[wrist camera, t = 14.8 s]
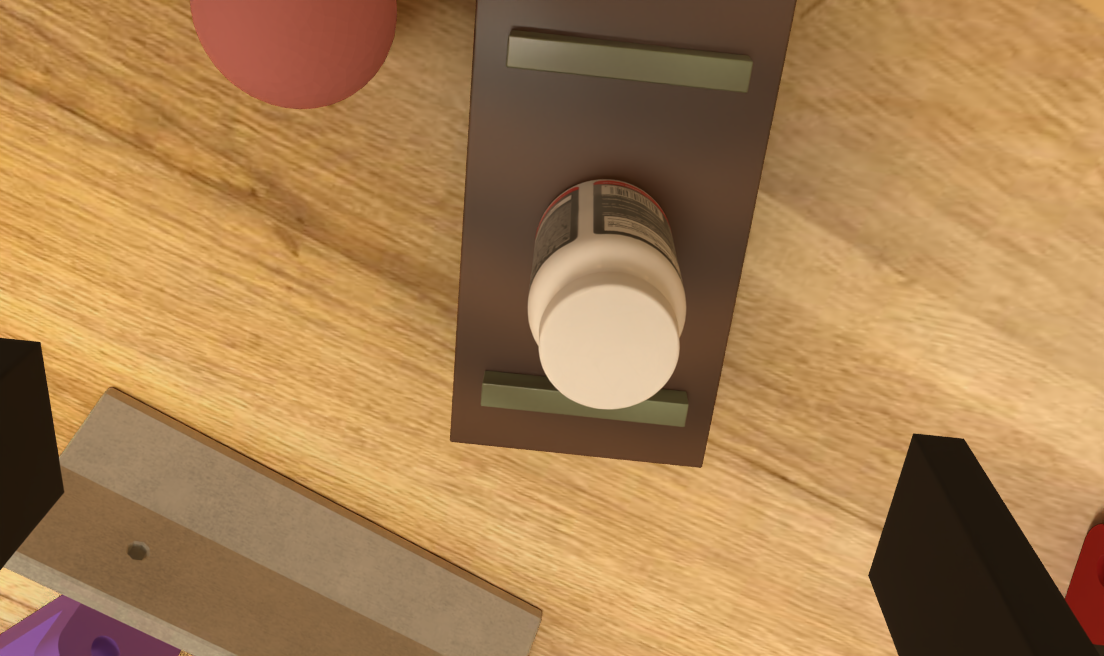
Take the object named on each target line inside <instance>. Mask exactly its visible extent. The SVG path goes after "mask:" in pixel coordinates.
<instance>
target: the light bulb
mask: <svg viewBox="0 0 1104 656" xmlns="http://www.w3.org/2000/svg"><path fill="white" fill-rule="evenodd" d="M190 5H191V13H192V18H193V23H194V26H195V29H196V32H197V35H198V37H199V40H200V42H201V44H202V46H203V48H204V50H205V52H206V53H207V55H208V56H209V58H210V59H211V61H212V62H213V63H214V65H215V66H216V67H217V68H218V70H219V71H220V72H221V73H222V74H223V75H224V76H225V77H226V78H227V79H228V80H229V81H230V82H231V83H233V84H234V85H235V86H237V87H238V88H240V89H241V90H242V91H244V92H246V93H247V94H249V95H250V96H252V97H255V98H257V99H259V100H262V101H264V102H266V103H269V104H272V105H276V106H280V107H284V108H294V109H310V108H318V107H323V106H327V105H331V104H334V103H336V102H339V101H341V100H344V99H346V98H348V97H349V96H351V95H353V94H354V93H356V92H357V91H358V90H360V89H361V88H363V87H364V86H365V85H366V84H367V83H368V82H369V81H370V80H371V79H372V78H373V77H374V76H375V74H376V73H377V72H378V70H379V69H380V67H381V66H382V64H383V63H384V61H385V59H386V57H387V55H388V52H389V50H390V48H391V45H392V42H393V38H394V34H395V28H396V21H397V3H396V0H190Z"/></svg>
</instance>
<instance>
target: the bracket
mask: <svg viewBox="0 0 1104 656" xmlns="http://www.w3.org/2000/svg"><path fill="white" fill-rule="evenodd" d="M180 651H181V649H179V648H176V647H174V646H172V645H170V644H168V643H166V642H163V641H161V640H159V639H157V638H155V637H153V636H151V635H148V634H146V633H144V632H142V631H140V630H138V629H136V628H133V627H131V626H129V625H127V624H125V623H123V622H121V621H118V620H116V619H114V618H112V617H110V616H108V615H105V614H103V613H101V612H99V611H97V610H95V609H93V608H90V607H88V606H86V605H84V604H82V603H80V602H78V601H75V600H73V599H71V598H69V597H67V596H65V595H61V596H60V597H58V598H56V599H55V600H53V601H52V602H50V603H49V604H47V605H46V606H44V607H42V608H41V609H39V610H38V611H36V612H35V613H33V614H31V615H30V616H28V617H27V618H25V619H24V620H22V621H21V622H19V623H17V624H16V625H14V626H13V627H11V628H10V629H8V630H6V631H5V632H3V633H2V634H0V656H178V655H179V653H180Z"/></svg>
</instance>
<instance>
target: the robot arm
mask: <svg viewBox="0 0 1104 656" xmlns="http://www.w3.org/2000/svg"><path fill="white" fill-rule="evenodd" d="M63 494H64V486H63V480H62V474H61V468H60V461H59V455H58V449H57V443H56V436H55V430H54V424H53V418H52V411H51V405H50V399H49V393H48V386H47V380H46V374H45V368H44V362H43V355H42V349H41V343H40V342H34V341H25V340H15V339H6V338H0V570H1V569H2V568H3V566H4V565H5V564H6V563H7V561H8V560H9V559H10V558H11V557H12V555H13V554H14V553H15V552H16V551H17V549H18V548H19V547H20V546H21V544H22V543H23V542H24V541H25V540H26V538H27V537H28V536H29V535H30V534H31V532H32V531H33V530H34V529H35V528H36V526H37V525H38V524H39V523H40V521H41V520H42V519H43V518H44V517H45V515H46V514H47V513H48V512H49V511H50V509H51V508H52V507H53V506H54V504H55V503H56V502H57V501H58V500H59V498H60V497H61V496H62V495H63ZM868 576H869V578H870V581H871V584H872V586H873V589H874V592H875V594H876V597H877V600H878V602H879V605H880V607H881V610H882V613H883V615H884V618H885V621H886V623H887V626H888V629H889V631H890V634H891V637H892V639H893V642H894V645H895V647H896V650H897V652H898V655H899V656H1104V645H1096V644H1092V642H1091V640H1090V639H1089V637H1088V636H1087V634H1086V632H1085V631H1084V629H1083V628H1082V626H1081V624H1080V623H1079V621H1078V620H1077V618H1076V616H1075V615H1074V613H1073V612H1072V610H1071V608H1070V607H1069V605H1068V604H1067V602H1066V601H1065V599H1064V597H1063V596H1062V594H1061V593H1060V591H1059V589H1058V588H1057V586H1056V585H1055V583H1054V581H1053V580H1052V578H1051V577H1050V575H1049V573H1048V572H1047V570H1046V569H1045V567H1044V565H1043V564H1042V562H1041V561H1040V559H1039V558H1038V556H1037V554H1036V553H1035V551H1034V550H1033V548H1032V546H1031V545H1030V543H1029V542H1028V540H1027V538H1026V537H1025V535H1024V534H1023V532H1022V530H1021V529H1020V527H1019V526H1018V524H1017V523H1016V521H1015V519H1014V518H1013V516H1012V515H1011V513H1010V511H1009V510H1008V508H1007V507H1006V505H1005V503H1004V502H1003V500H1002V499H1001V497H1000V495H999V494H998V492H997V491H996V489H995V487H994V486H993V484H992V483H991V481H990V480H989V478H988V476H987V475H986V473H985V472H984V470H983V468H982V467H981V465H980V464H979V462H978V460H977V459H976V457H975V456H974V454H973V452H972V451H971V449H970V448H969V446H968V445H967V443H966V441H965V440H964V439H961V438H952V437H942V436H933V435H923V434H913V436H912V439H911V443H910V446H909V449H908V452H907V455H906V458H905V462H904V465H903V468H902V471H901V474H900V477H899V480H898V484H897V487H896V490H895V493H894V496H893V499H892V503H891V506H890V509H889V512H888V515H887V518H886V522H885V525H884V528H883V531H882V534H881V537H880V540H879V544H878V547H877V550H876V553H875V556H874V559H873V563H872V566H871V569H870V572H869V575H868Z"/></svg>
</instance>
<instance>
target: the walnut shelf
mask: <svg viewBox="0 0 1104 656" xmlns="http://www.w3.org/2000/svg"><path fill="white" fill-rule="evenodd" d="M796 2H797V0H476V11H475V28H474V45H473V61H472V78H471V95H470V112H469V129H468V146H467V162H466V179H465V196H464V213H463V230H462V246H461V263H460V280H459V297H458V314H457V331H456V347H455V364H454V381H453V398H452V415H451V431H450V441H451V442H459V443H468V444H478V445H488V446H497V447H507V448H516V449H526V450H536V451H545V452H555V453H564V454H574V455H584V456H593V457H603V458H612V459H622V460H632V461H641V462H651V463H660V464H670V465H680V466H689V467H699V468H701V467H702V464H703V460H704V455H705V450H706V445H707V440H708V435H709V430H710V425H711V420H712V415H713V410H714V405H715V400H716V396H717V391H718V386H719V381H720V376H721V371H722V366H723V361H724V356H725V351H726V346H727V341H728V336H729V332H730V327H731V322H732V317H733V312H734V307H735V302H736V297H737V292H738V287H739V282H740V277H741V272H742V268H743V263H744V258H745V253H746V248H747V243H748V238H749V233H750V228H751V223H752V218H753V213H754V208H755V204H756V199H757V194H758V189H759V184H760V179H761V174H762V169H763V164H764V159H765V154H766V149H767V144H768V139H769V135H770V130H771V125H772V120H773V115H774V110H775V105H776V100H777V95H778V90H779V85H780V80H781V75H782V71H783V66H784V61H785V56H786V51H787V46H788V41H789V36H790V31H791V26H792V21H793V16H794V11H795V7H796ZM600 179H610V180H618V181H622V182H626V183H629V184H631V185H634V186H636V187H638V188H639V189H641V190H643V191H644V192H646V193H647V194H648V195H649V196H651V197H652V198H653V199H654V200H655V201H656V202H657V203H658V205H659V206H660V207H661V209H662V210H663V212H664V214H665V216H666V218H667V220H668V223H669V225H670V228H671V232H672V237H673V242H674V247H675V251H676V256H677V260H678V265H679V269H680V273H681V278H682V282H683V286H684V291H685V298H686V317H685V323H684V327H683V330H682V333H681V335H680V338H679V344H680V350H679V357H678V361H677V364H676V367H675V369H674V372H673V374H672V375H671V377H670V379H669V380H668V381H667V383H666V384H665V385H664V386H663V387H662V388H661V389H660V390H659V391H658V392H657V393H656V394H654V395H653V396H652V397H650V398H649V399H647V400H645V401H643V402H641V403H638V404H636V405H633V406H630V407H626V408H620V409H596V408H592V407H588V406H585V405H582V404H579V403H577V402H575V401H573V400H571V399H569V398H567V397H566V396H565V395H563V394H562V393H561V392H560V391H559V390H558V389H557V388H555V387H554V385H553V384H552V383H551V382H550V380H549V379H548V377H547V375H546V374H545V372H544V369H543V367H542V364H541V361H540V355H539V346H538V345H537V343H536V341H535V339H534V337H533V334H532V332H531V329H530V325H529V320H528V295H529V287H530V280H531V272H532V263H533V255H534V247H535V238H536V233H537V229H538V226H539V223H540V221H541V219H542V216H543V215H544V213H545V211H546V210H547V208H548V207H549V206H550V204H551V203H552V202H553V201H554V200H555V199H556V198H557V197H558V196H559V195H561V194H562V193H563V192H565V191H566V190H568V189H570V188H572V187H574V186H576V185H578V184H581V183H584V182H587V181H592V180H600Z"/></svg>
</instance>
